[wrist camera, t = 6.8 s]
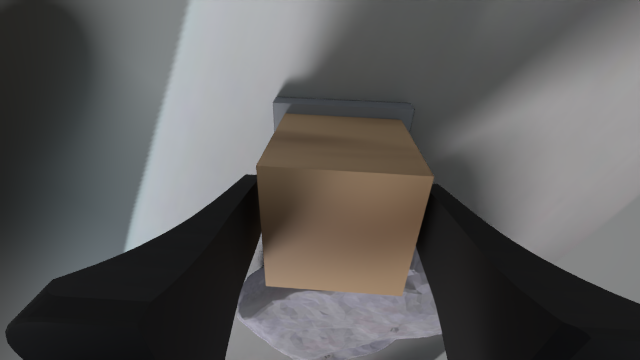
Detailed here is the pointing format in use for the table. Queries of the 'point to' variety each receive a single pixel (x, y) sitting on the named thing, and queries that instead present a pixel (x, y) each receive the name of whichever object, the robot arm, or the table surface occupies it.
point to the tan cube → (341, 203)
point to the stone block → (337, 317)
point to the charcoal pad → (342, 109)
